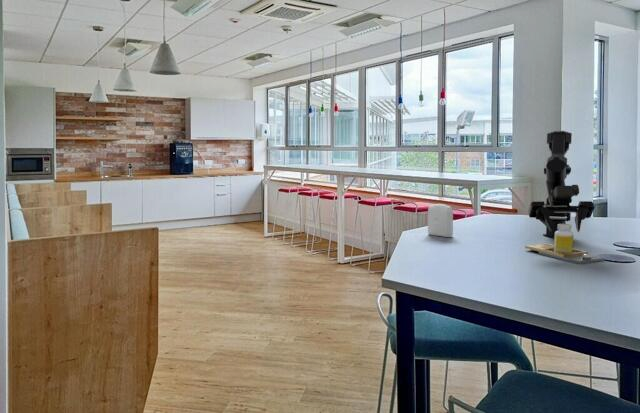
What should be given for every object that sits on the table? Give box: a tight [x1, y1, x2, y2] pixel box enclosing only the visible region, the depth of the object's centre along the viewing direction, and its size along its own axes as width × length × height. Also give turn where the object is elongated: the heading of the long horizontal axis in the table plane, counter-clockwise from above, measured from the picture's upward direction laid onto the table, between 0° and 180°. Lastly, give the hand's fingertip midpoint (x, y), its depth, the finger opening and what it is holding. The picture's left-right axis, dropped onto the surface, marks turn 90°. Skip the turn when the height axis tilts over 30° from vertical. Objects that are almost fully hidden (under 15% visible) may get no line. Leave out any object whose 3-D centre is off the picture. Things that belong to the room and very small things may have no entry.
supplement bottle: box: [553, 223, 574, 254], centre depth 167 cm, size 5×5×10 cm
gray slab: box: [524, 242, 606, 265], centre depth 167 cm, size 22×10×2 cm, turn 22°
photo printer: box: [427, 203, 454, 238], centre depth 205 cm, size 10×4×12 cm, turn 39°
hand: (565, 230), depth 165 cm, fingers open, 8 cm apart
